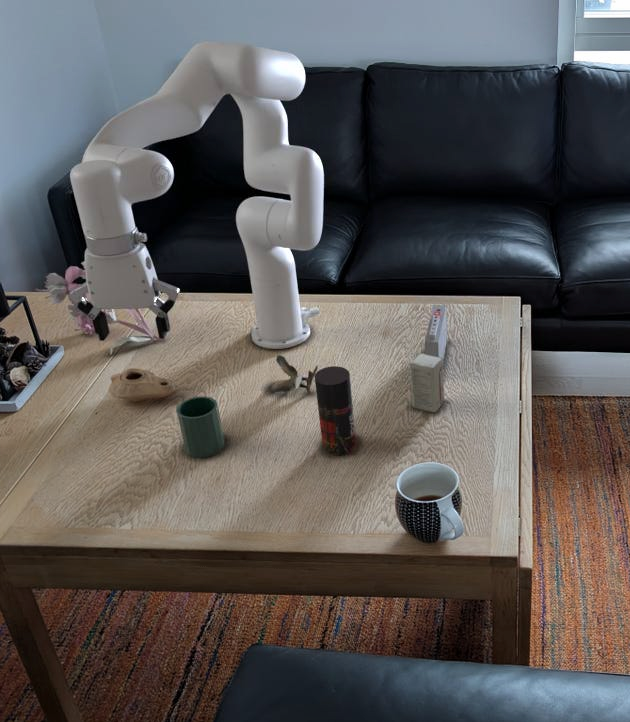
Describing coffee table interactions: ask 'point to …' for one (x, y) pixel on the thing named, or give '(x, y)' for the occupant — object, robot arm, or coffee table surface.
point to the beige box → (427, 382)
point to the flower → (63, 287)
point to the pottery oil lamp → (139, 385)
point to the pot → (200, 426)
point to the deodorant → (335, 410)
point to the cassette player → (436, 332)
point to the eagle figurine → (294, 380)
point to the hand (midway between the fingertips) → (134, 335)
